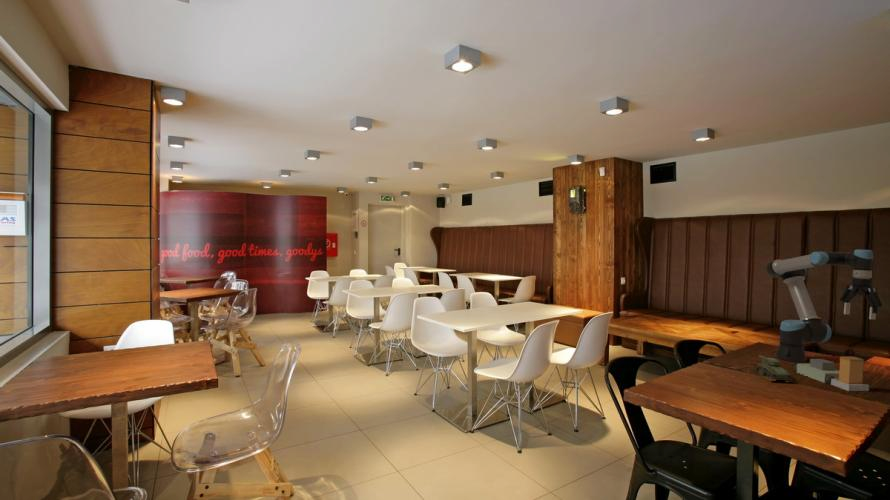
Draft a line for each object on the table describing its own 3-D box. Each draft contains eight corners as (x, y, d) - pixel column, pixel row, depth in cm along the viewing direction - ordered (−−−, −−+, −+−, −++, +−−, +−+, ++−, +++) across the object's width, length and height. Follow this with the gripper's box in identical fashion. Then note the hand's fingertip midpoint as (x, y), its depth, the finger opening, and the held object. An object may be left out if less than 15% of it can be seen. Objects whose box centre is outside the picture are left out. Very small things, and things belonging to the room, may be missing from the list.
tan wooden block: (838, 385, 217) (840, 356, 217) (851, 386, 218) (853, 356, 217) (848, 389, 212) (850, 359, 212) (861, 389, 213) (863, 359, 212)
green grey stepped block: (793, 371, 239) (794, 355, 239) (815, 371, 240) (816, 355, 240) (846, 391, 210) (848, 372, 210) (871, 391, 211) (872, 372, 211)
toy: (768, 372, 237) (769, 354, 237) (792, 384, 219) (793, 364, 218) (749, 371, 238) (750, 353, 237) (771, 383, 219) (772, 363, 219)
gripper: (833, 275, 248) (830, 312, 249) (880, 280, 223) (877, 321, 224) (845, 275, 248) (842, 312, 249) (893, 280, 223) (890, 321, 224)
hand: (859, 316), depth 236 cm, fingers open, 13 cm apart
